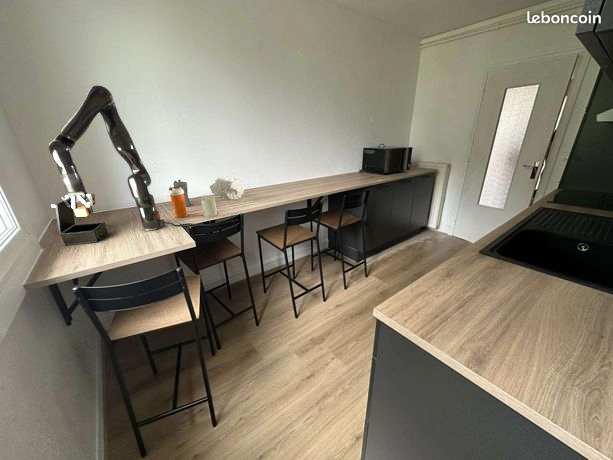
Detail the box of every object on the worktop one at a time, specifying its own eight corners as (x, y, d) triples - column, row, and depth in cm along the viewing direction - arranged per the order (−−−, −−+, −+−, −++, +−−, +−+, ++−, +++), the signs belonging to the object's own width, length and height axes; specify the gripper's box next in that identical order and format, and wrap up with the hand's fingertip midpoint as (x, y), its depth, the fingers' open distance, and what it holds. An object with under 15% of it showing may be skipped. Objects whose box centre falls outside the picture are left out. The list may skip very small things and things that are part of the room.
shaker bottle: (191, 214, 172) (185, 186, 164) (180, 218, 165) (174, 189, 157) (182, 212, 176) (176, 184, 168) (171, 217, 168) (164, 187, 160)
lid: (72, 197, 134) (61, 196, 132) (57, 204, 123) (45, 203, 121) (75, 224, 139) (64, 223, 138) (60, 233, 128) (49, 232, 126)
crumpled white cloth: (223, 199, 218) (244, 202, 206) (206, 195, 203) (228, 198, 191) (227, 178, 218) (248, 180, 206) (210, 173, 203) (232, 174, 191)
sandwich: (93, 212, 136) (90, 205, 135) (87, 215, 131) (84, 208, 129) (82, 212, 135) (80, 205, 133) (76, 216, 130) (73, 209, 128)
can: (200, 214, 172) (197, 197, 167) (213, 211, 178) (210, 195, 173) (207, 218, 166) (204, 200, 161) (220, 214, 172) (217, 197, 167)
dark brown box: (108, 233, 145) (104, 222, 142) (97, 242, 134) (93, 231, 131) (79, 235, 142) (74, 224, 139) (65, 245, 131) (60, 234, 128)
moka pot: (184, 208, 183) (178, 181, 175) (172, 205, 191) (165, 179, 183) (195, 205, 191) (190, 179, 183) (183, 202, 198) (177, 177, 190)
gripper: (50, 184, 121) (64, 217, 128) (85, 183, 124) (96, 215, 131) (60, 181, 128) (73, 212, 135) (93, 179, 131) (103, 210, 138)
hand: (84, 213), depth 133 cm, fingers closed on sandwich, 5 cm apart
